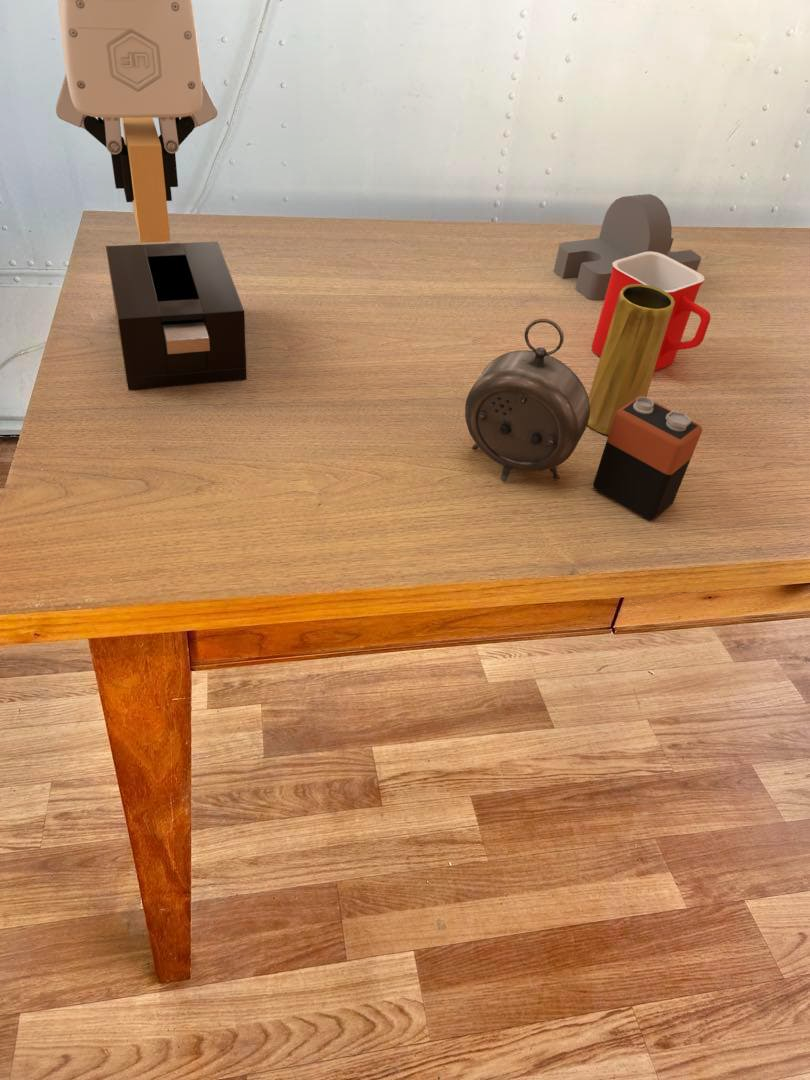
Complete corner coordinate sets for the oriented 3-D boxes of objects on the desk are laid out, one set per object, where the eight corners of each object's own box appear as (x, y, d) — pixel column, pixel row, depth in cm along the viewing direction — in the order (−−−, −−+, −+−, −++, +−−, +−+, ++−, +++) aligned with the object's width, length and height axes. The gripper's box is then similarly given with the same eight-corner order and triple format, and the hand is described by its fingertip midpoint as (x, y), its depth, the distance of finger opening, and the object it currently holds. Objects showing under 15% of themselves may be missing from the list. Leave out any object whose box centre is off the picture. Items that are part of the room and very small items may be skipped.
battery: (650, 524, 79) (685, 436, 72) (589, 488, 82) (617, 401, 76) (674, 504, 82) (709, 417, 75) (614, 470, 85) (642, 384, 78)
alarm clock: (573, 474, 84) (617, 324, 73) (557, 505, 80) (600, 352, 69) (470, 438, 86) (497, 289, 75) (449, 467, 83) (474, 313, 72)
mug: (583, 348, 102) (605, 263, 95) (628, 331, 106) (653, 249, 99) (660, 397, 96) (691, 310, 89) (706, 377, 100) (738, 293, 93)
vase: (580, 431, 89) (616, 305, 80) (581, 400, 94) (615, 277, 84) (639, 441, 89) (682, 316, 79) (636, 409, 93) (677, 287, 84)
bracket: (696, 283, 118) (723, 206, 111) (590, 301, 111) (612, 219, 104) (652, 254, 124) (675, 178, 117) (550, 268, 118) (567, 189, 110)
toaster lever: (167, 354, 82) (166, 340, 81) (164, 338, 84) (162, 324, 83) (210, 351, 83) (209, 337, 82) (205, 335, 85) (204, 321, 84)
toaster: (128, 390, 87) (118, 319, 82) (115, 313, 98) (105, 245, 92) (246, 379, 90) (244, 310, 85) (221, 306, 101) (218, 241, 96)
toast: (140, 242, 74) (128, 145, 68) (132, 204, 79) (120, 111, 73) (170, 241, 74) (161, 145, 69) (160, 203, 80) (151, 111, 74)
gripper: (-2, -53, 58) (50, 217, 70) (239, -41, 62) (247, 210, 75) (0, -74, 63) (48, 181, 75) (223, -62, 67) (233, 176, 80)
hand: (147, 193), depth 75 cm, fingers closed on toast, 2 cm apart
